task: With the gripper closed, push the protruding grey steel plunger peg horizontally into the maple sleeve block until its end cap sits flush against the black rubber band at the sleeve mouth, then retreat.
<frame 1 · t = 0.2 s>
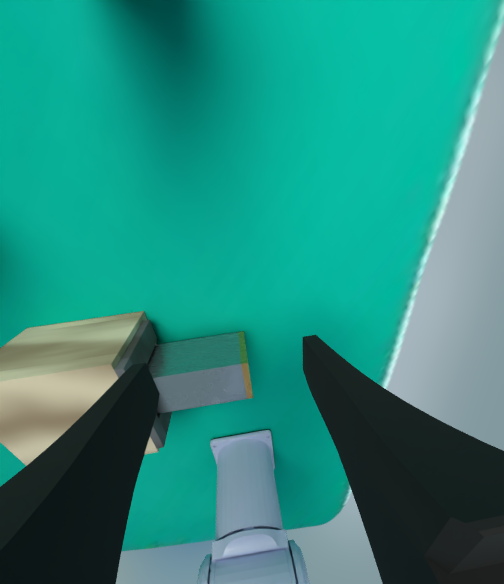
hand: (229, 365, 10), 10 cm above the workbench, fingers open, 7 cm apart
peg: (171, 375, 19), point 3 cm above the workbench, slide at 0.0 cm
sleeve: (109, 361, 22), on the workbench
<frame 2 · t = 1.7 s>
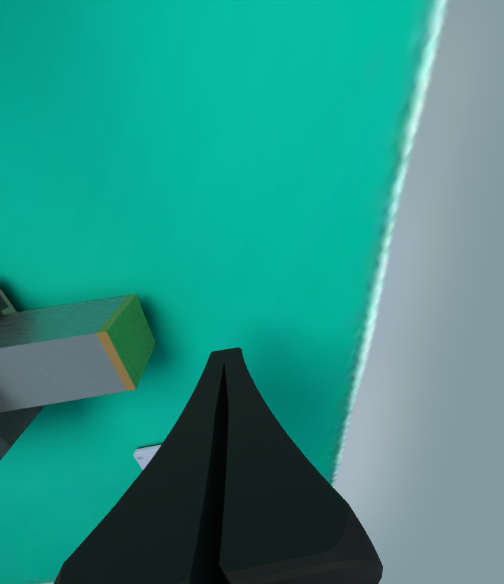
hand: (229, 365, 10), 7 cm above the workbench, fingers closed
peg: (18, 357, 13), point 3 cm above the workbench, slide at 0.0 cm
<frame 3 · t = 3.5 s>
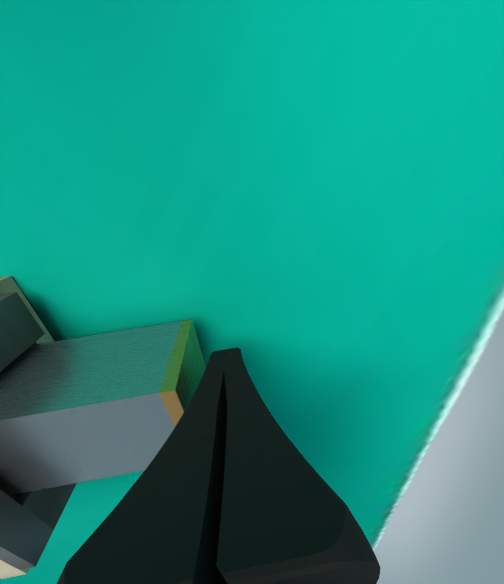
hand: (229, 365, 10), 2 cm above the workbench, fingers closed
peg: (36, 410, 9), point 3 cm above the workbench, slide at 1.1 cm, touching gripper
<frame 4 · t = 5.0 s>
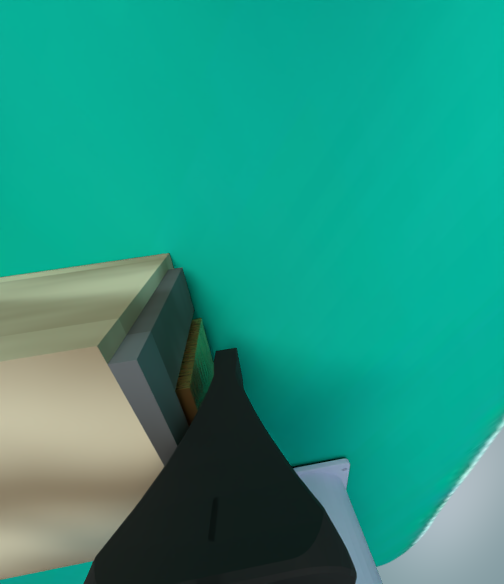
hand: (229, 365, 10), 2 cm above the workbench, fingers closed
peg: (47, 408, 9), point 3 cm above the workbench, slide at 7.6 cm, touching gripper
sleeve: (103, 354, 12), on the workbench
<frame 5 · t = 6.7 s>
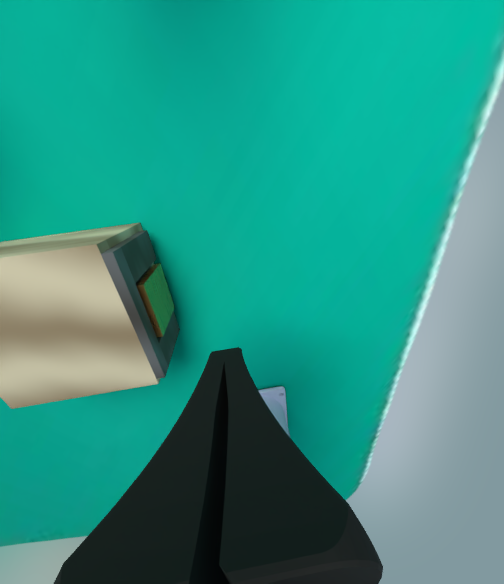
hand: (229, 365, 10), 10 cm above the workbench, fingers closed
peg: (67, 312, 16), point 3 cm above the workbench, slide at 7.6 cm
sleeve: (101, 291, 19), on the workbench
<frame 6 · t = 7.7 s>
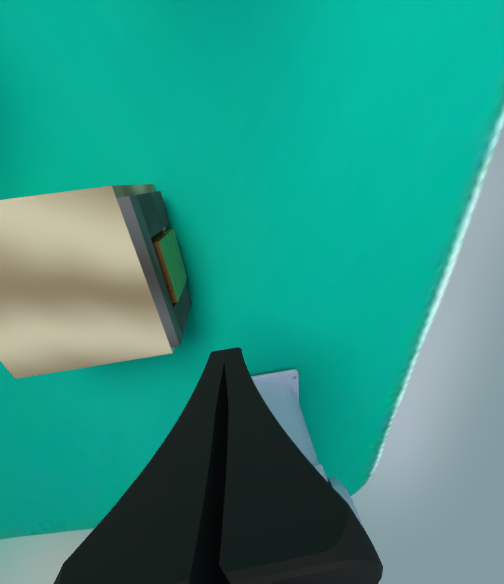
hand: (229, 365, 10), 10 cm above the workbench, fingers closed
peg: (75, 277, 15), point 3 cm above the workbench, slide at 7.6 cm
sleeve: (109, 261, 18), on the workbench
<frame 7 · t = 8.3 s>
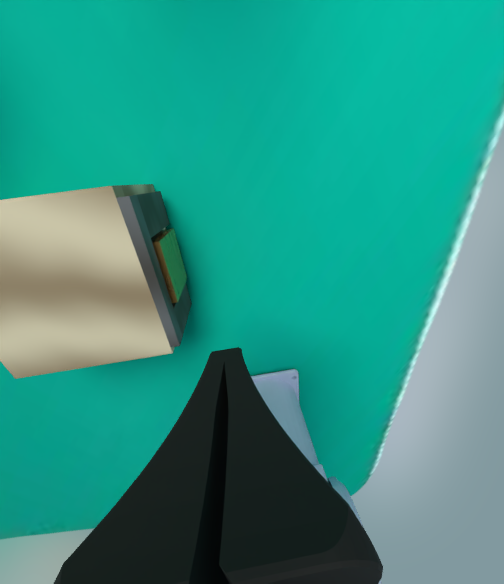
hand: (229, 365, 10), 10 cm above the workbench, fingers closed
peg: (75, 277, 15), point 3 cm above the workbench, slide at 7.6 cm
sleeve: (109, 261, 18), on the workbench
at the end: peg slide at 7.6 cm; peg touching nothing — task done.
